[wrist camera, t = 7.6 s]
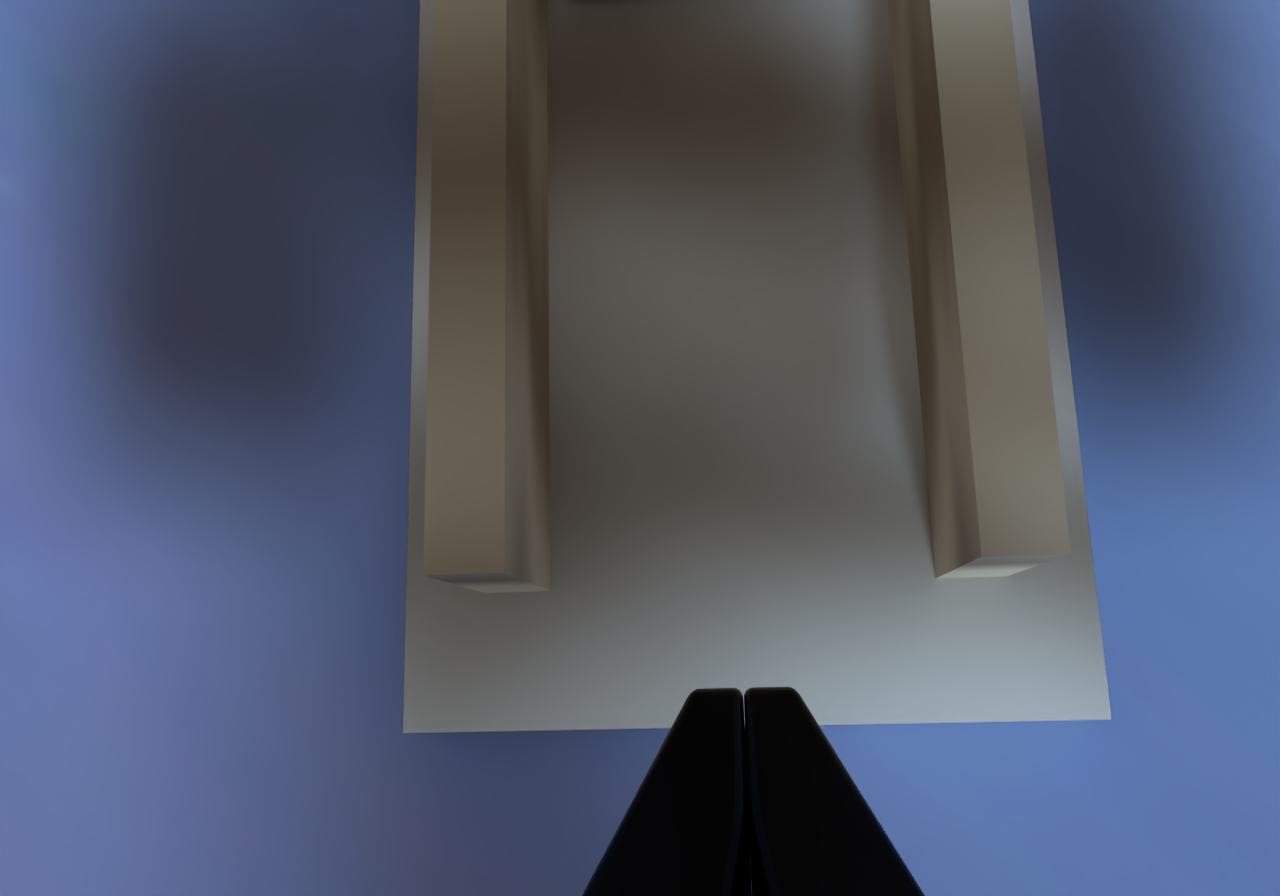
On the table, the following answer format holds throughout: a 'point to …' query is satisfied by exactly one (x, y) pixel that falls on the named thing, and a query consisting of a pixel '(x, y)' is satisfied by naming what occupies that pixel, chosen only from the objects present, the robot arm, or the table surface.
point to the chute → (740, 369)
